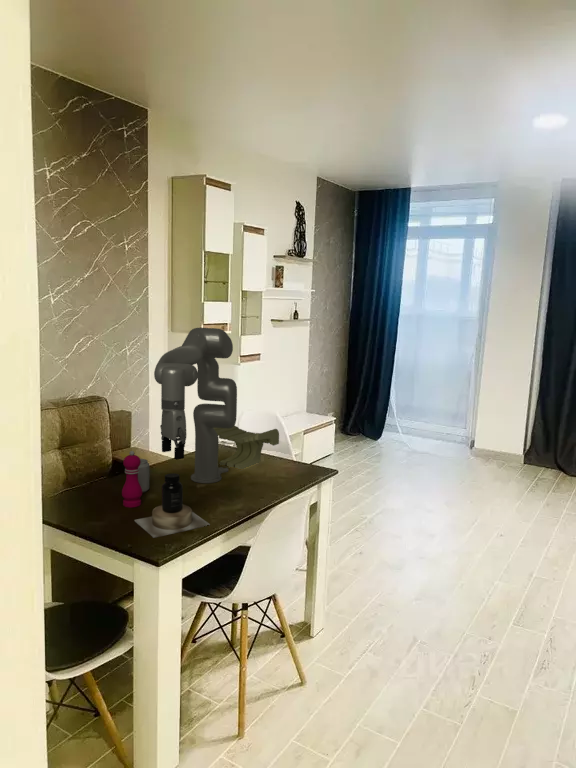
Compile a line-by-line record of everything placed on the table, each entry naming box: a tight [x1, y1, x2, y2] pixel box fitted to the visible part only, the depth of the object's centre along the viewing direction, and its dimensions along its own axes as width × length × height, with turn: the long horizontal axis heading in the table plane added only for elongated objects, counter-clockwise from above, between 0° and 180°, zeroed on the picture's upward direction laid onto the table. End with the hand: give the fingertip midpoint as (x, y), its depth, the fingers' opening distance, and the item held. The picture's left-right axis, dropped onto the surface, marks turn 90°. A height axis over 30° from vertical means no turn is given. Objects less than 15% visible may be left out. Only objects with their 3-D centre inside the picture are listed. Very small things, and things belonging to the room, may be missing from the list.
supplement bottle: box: [161, 472, 184, 513], centre depth 200 cm, size 7×7×12 cm
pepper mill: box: [121, 450, 143, 508], centre depth 215 cm, size 7×7×20 cm
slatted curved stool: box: [214, 425, 280, 470], centre depth 271 cm, size 30×16×18 cm, turn 57°
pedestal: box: [134, 504, 211, 539], centre depth 201 cm, size 20×16×5 cm
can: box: [138, 458, 150, 494], centre depth 231 cm, size 8×8×12 cm
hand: (172, 455), depth 199 cm, fingers open, 9 cm apart
